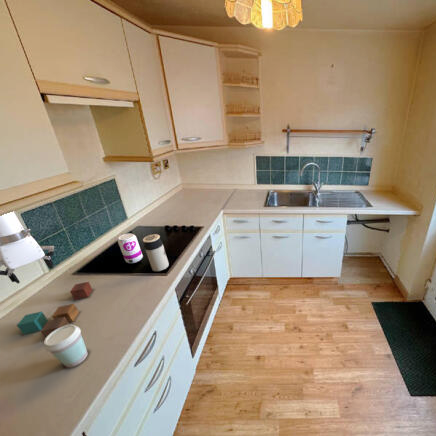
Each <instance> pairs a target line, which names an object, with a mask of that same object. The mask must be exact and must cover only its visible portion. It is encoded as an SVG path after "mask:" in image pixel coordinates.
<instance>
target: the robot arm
mask: <svg viewBox="0 0 436 436" xmlns="http://www.w3.org/2000/svg"><path fill="white" fill-rule="evenodd" d="M30 232H32V229H31V228H29V227H28V228H25V227H24V226H23V225H22V223H21V221H20V220H19V218H18V216H17V215H16V212H15V211H14V210H13V212H10V213H7V214H4V215H2V216H0V268H1V267H2V266H4V267H5V270H1V269H0V276H6V277H8V278H9V280H10V281H11V282H12V283H14V282H15V283H16V284H17V285H18V284H20V283H21V281H20V279H19V278H18V276H17V275H16V274H15V273H14V272H15V269H19V268H21V267H23V266H27V265H29V264H31V263H33V262H37V261H38V260H42V259H43V261H44V263H45V265H46V266H47V268H49V269H51V270H52V269H54V263H53V260H52V257H53V255H54V254H55V246H54V245H40V244H39V243H38V242H37V241H36V239H35V238H34V237H33V236H32V235H30V234H29V233H30ZM44 250H45V251H46V250H48V252H47V253H46V254H45V252H44Z"/></svg>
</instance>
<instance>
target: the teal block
mask: <svg viewBox="0 0 436 436" xmlns="http://www.w3.org/2000/svg"><path fill="white" fill-rule="evenodd" d="M48 321H49V319H47V317H46V315H45V314H44V312H43V311H38V312H33V313H28V314H25V315H24V316H23V317H22V318H21V320H19V322H18V323H17V324H16V327H17V328H18V329H19V331H20V332H21V333H22V334H23V335H28V334H32V333H36V332H41V330H42V329H43V327H44V326H45V325H46V323H47V322H48Z"/></svg>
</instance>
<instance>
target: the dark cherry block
mask: <svg viewBox="0 0 436 436" xmlns="http://www.w3.org/2000/svg"><path fill="white" fill-rule="evenodd" d="M92 292H93V287H92V286H91V283H90V282H89V281H85V282H80V283H75V284H74V285H73V286H72V288H71V290H70V291H69V293H70V295H71V296H72V298H73V300H74V301H77V300H82V299H87V298H89V297H90V295H91V293H92Z"/></svg>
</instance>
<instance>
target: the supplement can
mask: <svg viewBox="0 0 436 436" xmlns="http://www.w3.org/2000/svg"><path fill="white" fill-rule="evenodd" d="M117 243H118V246H119V248H120V251H121V254H122V255H123V259H124V261H125V262H126V263H128V264H135V263H138V262H140V261H141V260H143V257H144V255H143V253H142V249H141V247H140V244H139V241H138V238H137V236H136V235H135V234H134V233H132V232H131V233H129V232H128V233H124V234H121V235H120V236H118V238H117Z"/></svg>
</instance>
